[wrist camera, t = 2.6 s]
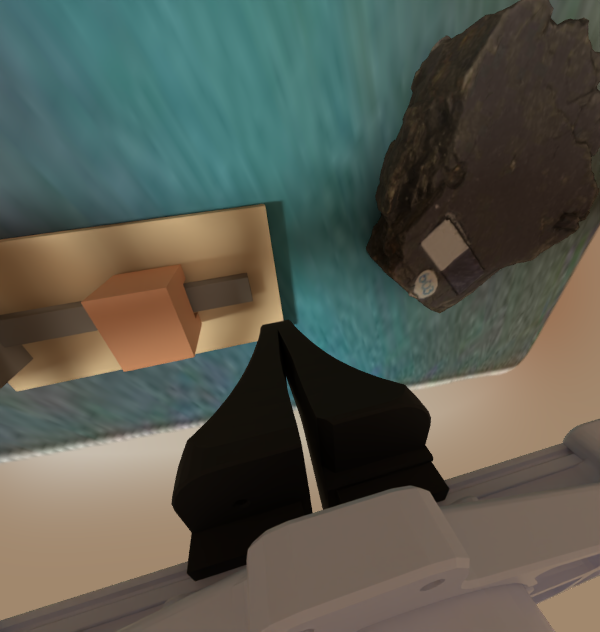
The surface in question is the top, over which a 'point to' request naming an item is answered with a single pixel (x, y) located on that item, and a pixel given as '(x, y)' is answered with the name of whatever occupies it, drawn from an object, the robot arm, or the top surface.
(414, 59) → the top surface
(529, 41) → the rock sample
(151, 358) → the slider block
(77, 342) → the rail board
